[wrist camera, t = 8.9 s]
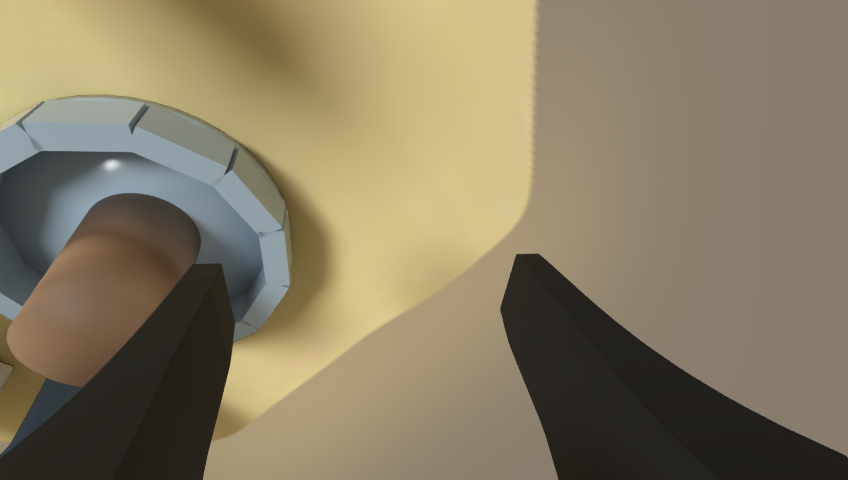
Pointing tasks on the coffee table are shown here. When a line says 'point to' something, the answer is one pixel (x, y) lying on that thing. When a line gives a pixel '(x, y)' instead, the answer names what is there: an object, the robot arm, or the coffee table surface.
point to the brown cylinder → (103, 286)
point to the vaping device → (43, 408)
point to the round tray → (138, 173)
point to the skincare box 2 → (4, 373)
